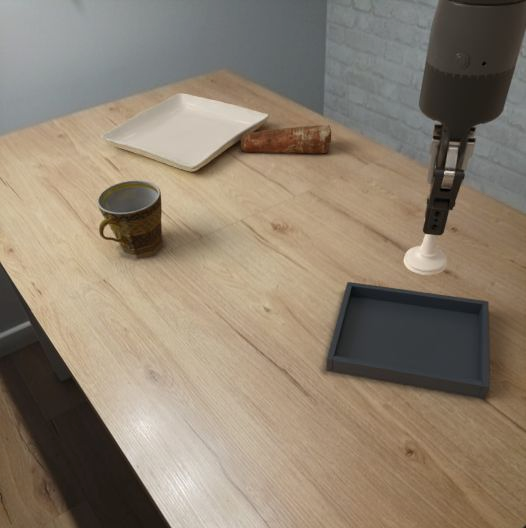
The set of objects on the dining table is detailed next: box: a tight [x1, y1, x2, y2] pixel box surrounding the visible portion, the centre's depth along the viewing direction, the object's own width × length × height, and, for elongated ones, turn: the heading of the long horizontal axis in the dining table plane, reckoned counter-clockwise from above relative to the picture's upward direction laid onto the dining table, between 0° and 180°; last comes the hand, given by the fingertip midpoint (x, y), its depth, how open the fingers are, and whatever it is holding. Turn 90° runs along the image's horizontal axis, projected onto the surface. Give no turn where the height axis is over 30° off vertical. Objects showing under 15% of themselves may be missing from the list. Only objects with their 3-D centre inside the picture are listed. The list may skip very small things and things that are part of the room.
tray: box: [325, 281, 490, 400], centre depth 69 cm, size 20×16×3 cm
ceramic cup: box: [96, 179, 163, 260], centre depth 84 cm, size 13×10×10 cm
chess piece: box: [403, 218, 448, 276], centre depth 57 cm, size 5×5×10 cm
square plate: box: [99, 92, 270, 172], centre depth 114 cm, size 27×27×4 cm
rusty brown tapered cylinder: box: [240, 124, 332, 155], centre depth 108 cm, size 6×19×6 cm, turn 82°
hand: (433, 225), depth 57 cm, fingers closed on chess piece
